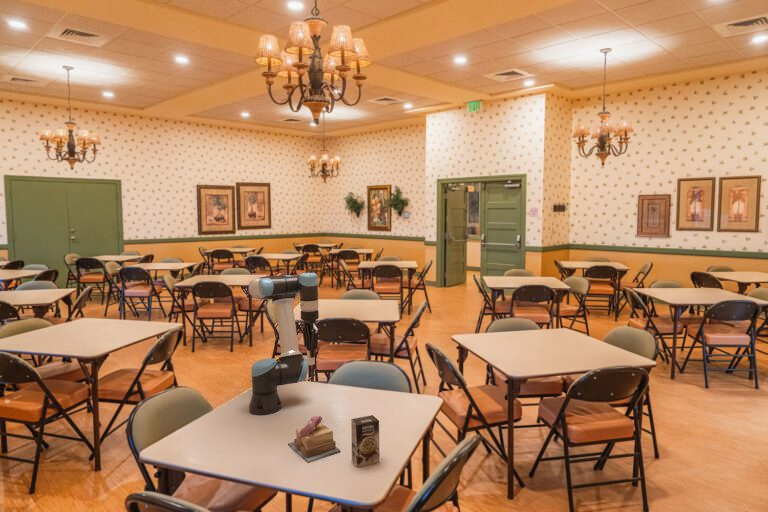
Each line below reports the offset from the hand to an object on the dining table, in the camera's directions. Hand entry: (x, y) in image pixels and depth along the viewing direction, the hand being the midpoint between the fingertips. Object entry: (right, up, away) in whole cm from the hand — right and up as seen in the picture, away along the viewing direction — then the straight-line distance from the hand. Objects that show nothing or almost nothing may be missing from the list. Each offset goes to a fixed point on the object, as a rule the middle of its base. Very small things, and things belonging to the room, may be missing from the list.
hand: (311, 364), depth 209 cm
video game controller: (+3, -23, -17) cm, 28 cm away
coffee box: (+24, -31, -26) cm, 47 cm away
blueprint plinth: (+3, -30, -15) cm, 34 cm away
